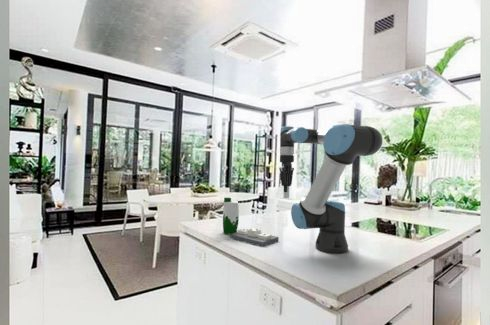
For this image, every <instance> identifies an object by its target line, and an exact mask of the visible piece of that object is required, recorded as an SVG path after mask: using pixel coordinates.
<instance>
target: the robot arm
mask: <svg viewBox="0 0 490 325" xmlns="http://www.w3.org/2000/svg"><path fill="white" fill-rule="evenodd" d="M279 133H280V134H279V136H280V137H279V138H280V139H279V140H280V141H279V142H280V145H279V147H280V148H279V152H280V156H279V162H280V163H281V167H279V168H278V169H279V170H278V171H279V173H280V183H281V187H283V199H290V187H291V186H292V184H293V175H294V170H295V168H294V167H292V166H293V164H292V163H294V162H295V144H313V145H323V149H324V154H325V158H324V160H323V162H322V164H321V167H320V168H319V170H318V173H317V174H316V177H315V179H314V180H313V182H312V184H311V186H310V188H309V190H308V192H307V194H306V195H304V196H302V198H301V199H300V201H299V203H297V202H296V203H293V204H292V206H291V209H290V210H291V211H290V216H291V221H292V222H293V225H294V226H295V228H297V229H299V230H307V229H308V230H311V229H319V232H318V234H317V238H316V240H315V248H316V249H317V250H319V251H321V252H325V253H329V254H345V253H348V252H349V244H348V242H347V238H346V232H345V229H346V228H345V226H346V225H345V224H346V222H345V221H346V207H345V206H346V205H345V204H344V203H343V202H339V201H334V200H329V198H330V196H331V194H332V193H333V191H334V189H335V187H336V185H337V184H338V181H339V180H340V178H341V176H342V175H343V172H344V170H346V167H347V166H351V165H353V163H354V161H355V159H356V158H357V156H359V157H367V156H368V157H370V156H372V155H374V154H376V153H378V151H379V150H380V149H381V148H382V145H383V136H382V134H381V131H379V130H378V129H377V128H375V127H372V126H367V125H357V124H356V125H355V124H349V123H341V124H340V123H337V124H334V125H331V127H328V129H313V128H305V127H302V126H297V127H294V126H290V125H287V126H285V125H284V126H281V128H280V132H279Z"/></svg>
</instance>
